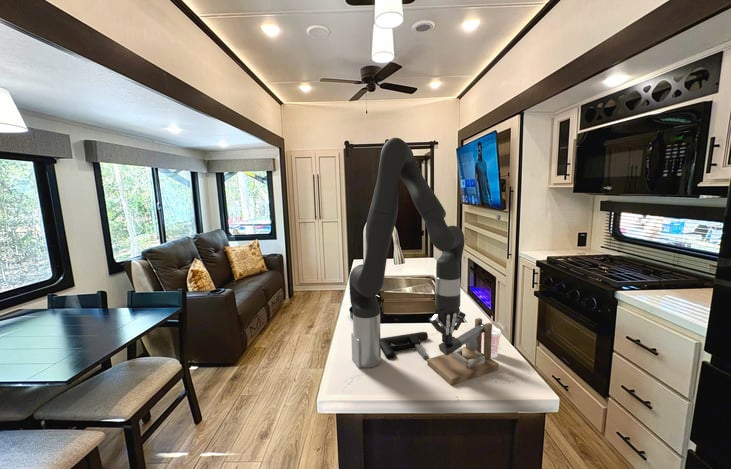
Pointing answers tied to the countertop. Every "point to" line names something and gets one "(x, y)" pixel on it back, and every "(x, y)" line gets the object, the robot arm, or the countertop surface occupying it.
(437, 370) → the nutcracker bench
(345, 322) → the countertop surface
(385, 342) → the black toy gun
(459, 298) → the robot arm
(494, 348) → the beverage cup
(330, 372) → the countertop surface
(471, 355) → the wooden nut
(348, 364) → the countertop surface
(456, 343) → the nutcracker lever
